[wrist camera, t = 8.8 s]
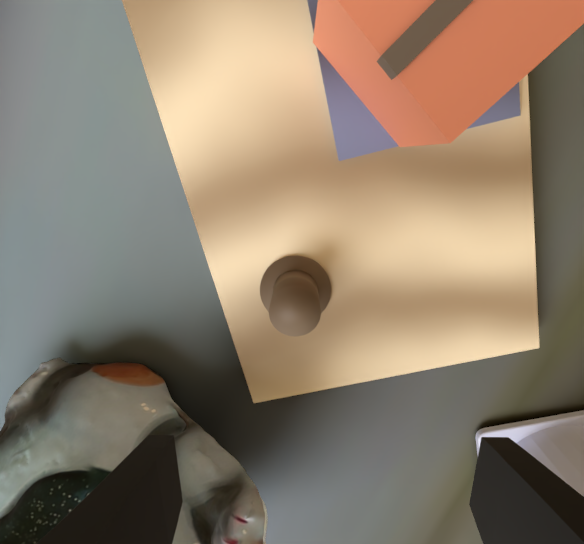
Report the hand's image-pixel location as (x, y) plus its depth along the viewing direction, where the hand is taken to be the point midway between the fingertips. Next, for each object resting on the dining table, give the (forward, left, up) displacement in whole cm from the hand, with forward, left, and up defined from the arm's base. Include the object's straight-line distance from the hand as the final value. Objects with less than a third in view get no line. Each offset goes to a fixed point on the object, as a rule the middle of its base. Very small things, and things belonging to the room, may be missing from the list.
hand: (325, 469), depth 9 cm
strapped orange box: (+10, -6, -8) cm, 14 cm away
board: (+6, -3, -10) cm, 12 cm away
